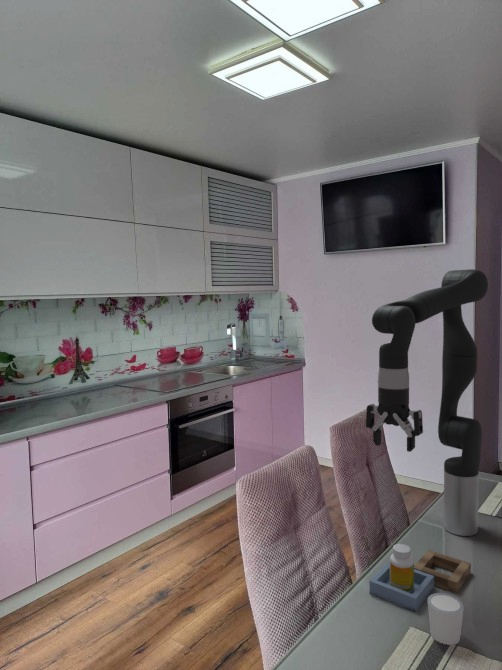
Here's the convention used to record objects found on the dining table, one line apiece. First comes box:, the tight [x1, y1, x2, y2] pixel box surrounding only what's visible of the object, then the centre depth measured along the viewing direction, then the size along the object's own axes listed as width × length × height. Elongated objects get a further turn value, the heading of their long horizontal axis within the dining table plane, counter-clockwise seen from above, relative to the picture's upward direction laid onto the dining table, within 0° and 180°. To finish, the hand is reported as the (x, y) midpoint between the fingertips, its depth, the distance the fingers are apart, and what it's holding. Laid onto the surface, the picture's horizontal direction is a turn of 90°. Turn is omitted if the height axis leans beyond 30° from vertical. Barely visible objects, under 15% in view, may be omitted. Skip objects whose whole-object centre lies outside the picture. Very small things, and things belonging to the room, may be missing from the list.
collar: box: [414, 549, 472, 594], centre depth 122 cm, size 10×10×2 cm
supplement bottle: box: [389, 543, 415, 593], centre depth 116 cm, size 5×5×10 cm
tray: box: [369, 560, 435, 612], centre depth 116 cm, size 11×11×3 cm
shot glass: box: [427, 592, 464, 646], centre depth 101 cm, size 7×7×7 cm
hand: (393, 447), depth 126 cm, fingers open, 8 cm apart
